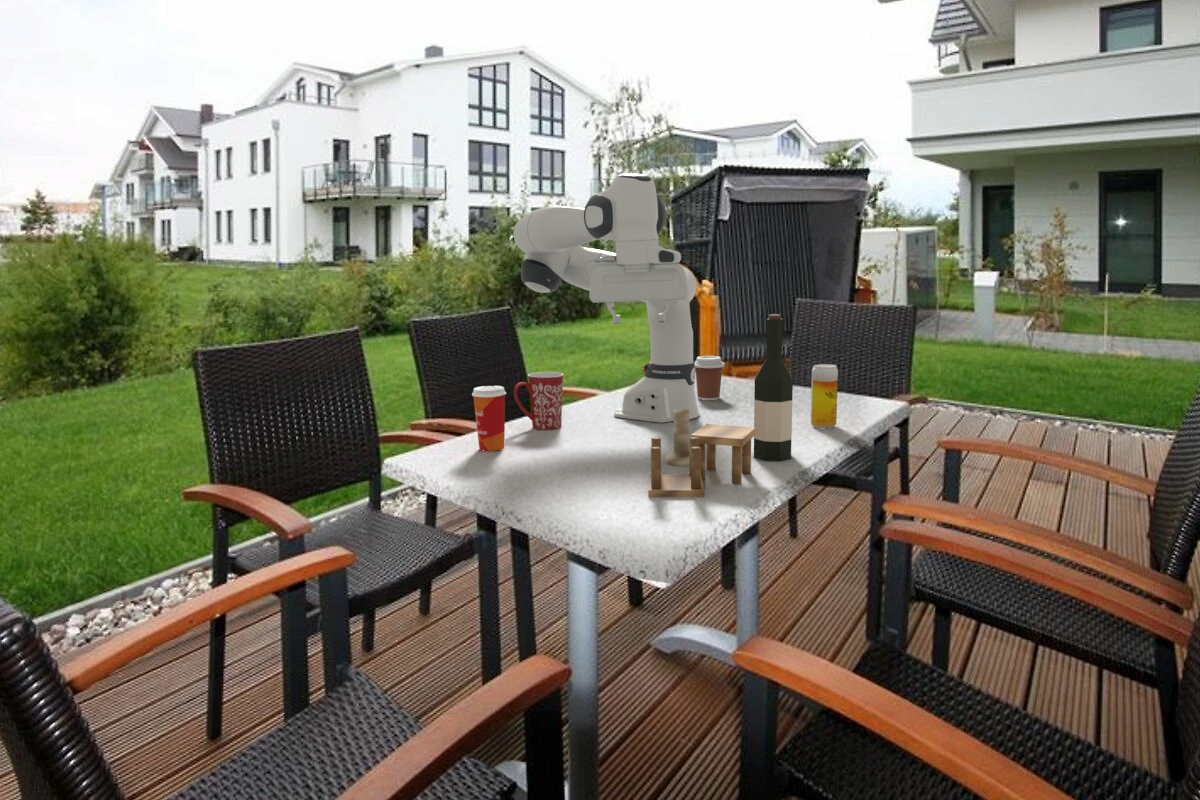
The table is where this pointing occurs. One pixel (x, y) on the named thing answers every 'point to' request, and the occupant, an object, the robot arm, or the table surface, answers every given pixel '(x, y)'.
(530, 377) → the mug
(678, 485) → the upturned stool
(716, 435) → the stool
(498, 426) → the paper cup
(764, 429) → the wine bottle
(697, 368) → the coffee cup
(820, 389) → the beer can
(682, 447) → the ring stacker tower
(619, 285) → the robot arm
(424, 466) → the table surface
